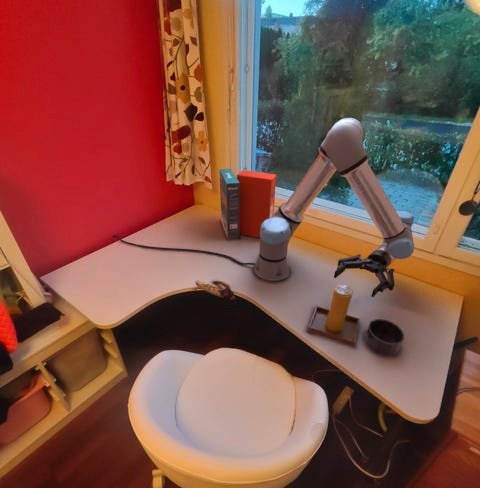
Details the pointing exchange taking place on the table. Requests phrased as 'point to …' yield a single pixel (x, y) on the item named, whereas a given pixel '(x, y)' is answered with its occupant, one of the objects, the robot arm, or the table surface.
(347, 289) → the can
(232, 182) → the cake mix box
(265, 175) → the file binder
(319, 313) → the tray
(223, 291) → the bone fish hook
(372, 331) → the bowl
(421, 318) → the table surface
